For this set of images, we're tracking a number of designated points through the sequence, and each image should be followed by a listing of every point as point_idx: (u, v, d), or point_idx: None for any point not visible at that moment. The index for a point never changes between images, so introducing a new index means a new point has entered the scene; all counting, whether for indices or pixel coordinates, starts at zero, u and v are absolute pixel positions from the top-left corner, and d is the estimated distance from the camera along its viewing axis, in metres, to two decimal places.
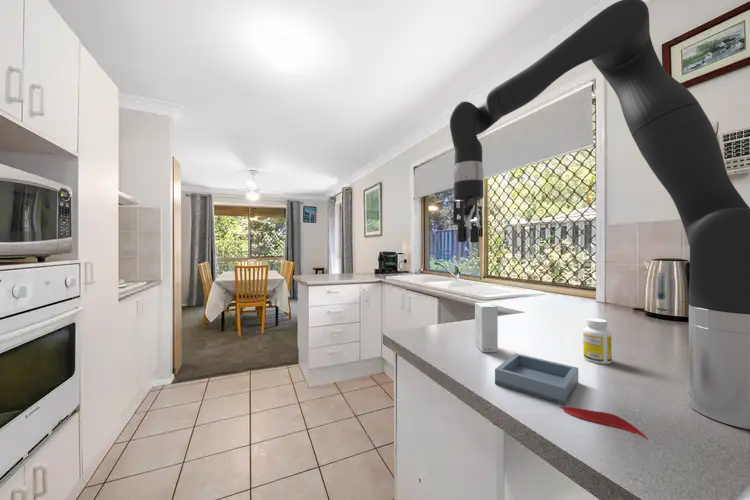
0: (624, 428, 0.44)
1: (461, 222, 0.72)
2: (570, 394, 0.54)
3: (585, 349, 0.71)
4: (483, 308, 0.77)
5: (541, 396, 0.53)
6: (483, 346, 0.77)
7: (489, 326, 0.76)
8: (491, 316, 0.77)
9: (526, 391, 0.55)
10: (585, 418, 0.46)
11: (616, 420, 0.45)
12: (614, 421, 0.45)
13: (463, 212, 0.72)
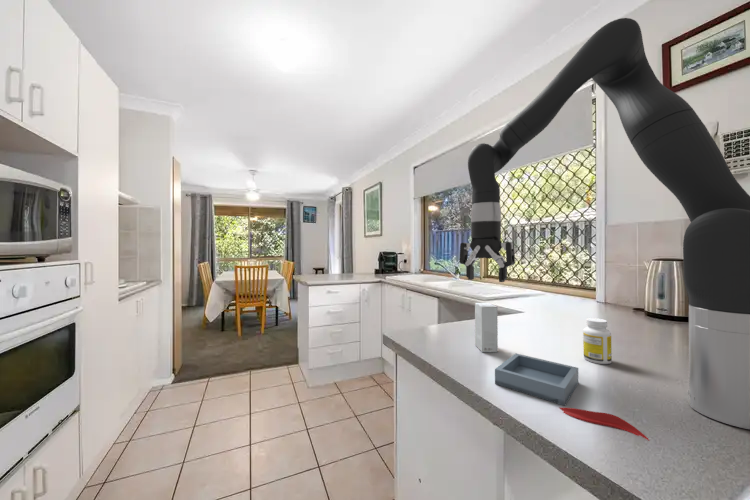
0: (624, 428, 0.44)
1: (514, 263, 0.75)
2: (570, 394, 0.54)
3: (585, 349, 0.71)
4: (483, 308, 0.77)
5: (541, 396, 0.53)
6: (482, 346, 0.77)
7: (489, 326, 0.76)
8: (491, 315, 0.77)
9: (526, 391, 0.55)
10: (585, 419, 0.46)
11: (616, 420, 0.45)
12: (614, 421, 0.45)
13: None
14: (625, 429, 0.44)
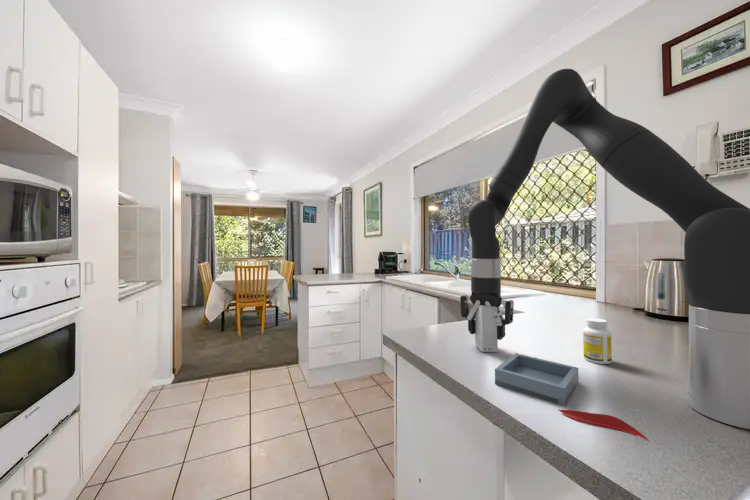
0: (624, 430, 0.44)
1: (511, 322, 0.76)
2: (570, 394, 0.54)
3: (585, 349, 0.71)
4: (483, 308, 0.77)
5: (541, 396, 0.53)
6: (482, 346, 0.77)
7: (489, 326, 0.76)
8: (491, 315, 0.77)
9: (526, 391, 0.55)
10: (585, 421, 0.46)
11: (616, 422, 0.45)
12: (614, 423, 0.45)
13: None
14: (625, 430, 0.43)
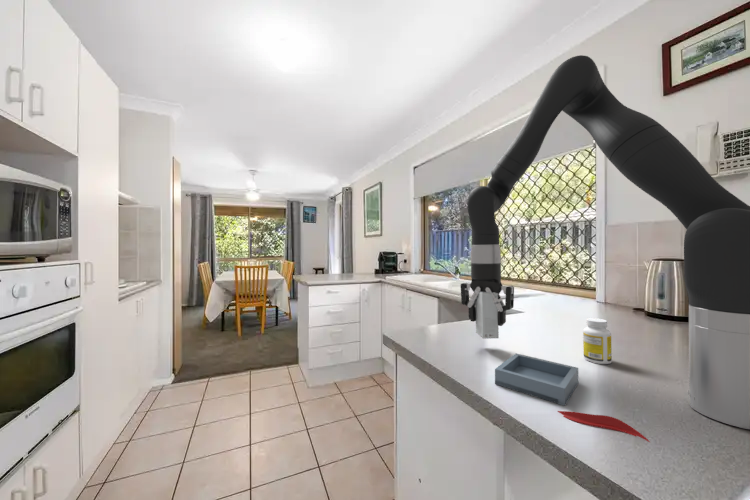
0: (624, 431, 0.43)
1: (512, 307, 0.75)
2: (570, 394, 0.54)
3: (585, 349, 0.71)
4: (483, 294, 0.76)
5: (541, 396, 0.53)
6: (483, 332, 0.76)
7: (490, 312, 0.76)
8: (491, 302, 0.76)
9: (526, 391, 0.55)
10: (585, 422, 0.45)
11: (615, 423, 0.44)
12: (614, 424, 0.44)
13: None
14: (625, 431, 0.43)
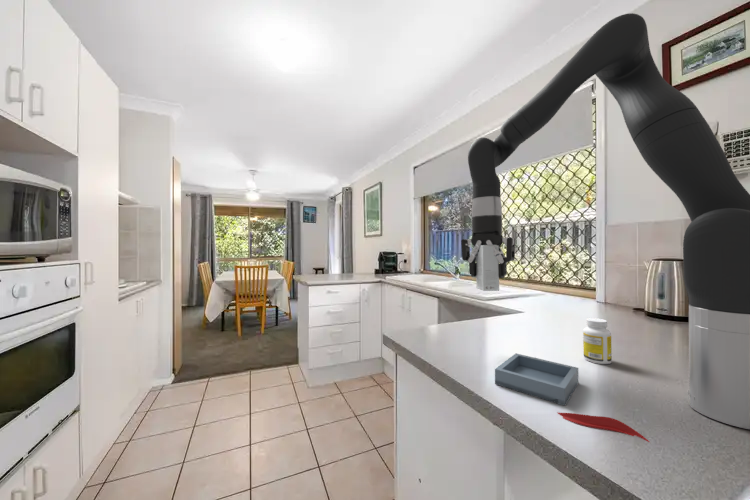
0: (624, 432, 0.43)
1: (513, 259, 0.75)
2: (570, 394, 0.54)
3: (585, 349, 0.71)
4: (484, 246, 0.76)
5: (541, 396, 0.53)
6: (484, 285, 0.76)
7: (491, 265, 0.76)
8: (492, 254, 0.76)
9: (526, 391, 0.55)
10: (586, 424, 0.45)
11: (615, 424, 0.44)
12: (614, 425, 0.44)
13: None
14: (625, 432, 0.43)
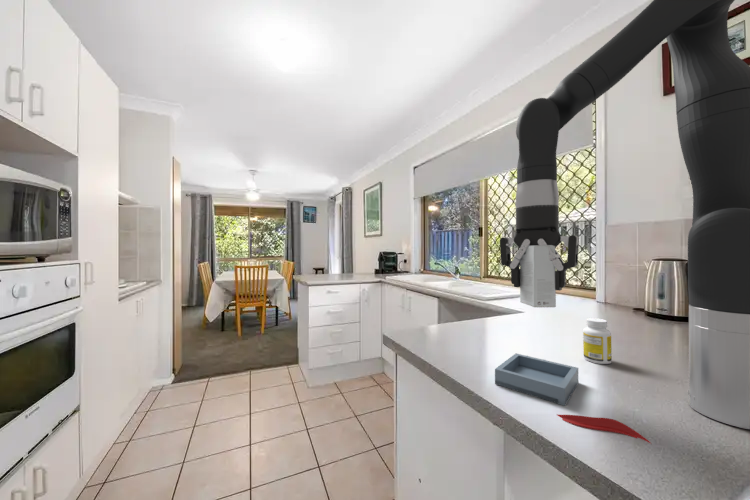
0: (625, 433, 0.43)
1: (576, 265, 0.55)
2: (570, 394, 0.54)
3: (585, 349, 0.71)
4: (536, 247, 0.56)
5: (541, 396, 0.53)
6: (535, 299, 0.56)
7: (545, 272, 0.56)
8: (546, 257, 0.56)
9: (526, 391, 0.55)
10: (586, 426, 0.44)
11: (616, 425, 0.44)
12: (614, 426, 0.44)
13: None
14: (626, 433, 0.43)
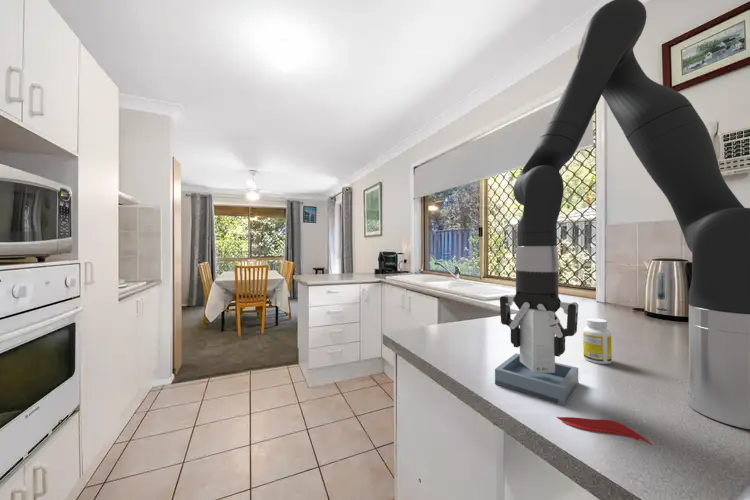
0: (625, 434, 0.43)
1: (575, 332, 0.55)
2: (570, 394, 0.54)
3: (585, 349, 0.71)
4: (535, 313, 0.56)
5: (541, 396, 0.53)
6: (534, 365, 0.56)
7: (544, 338, 0.56)
8: (546, 323, 0.56)
9: (526, 391, 0.55)
10: (588, 428, 0.44)
11: (616, 426, 0.43)
12: (614, 427, 0.43)
13: None
14: (627, 435, 0.42)
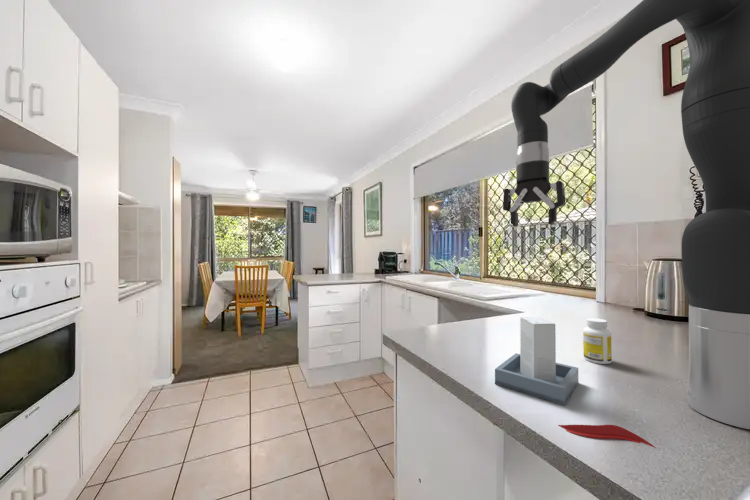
0: (628, 438, 0.42)
1: (564, 204, 0.72)
2: (570, 394, 0.54)
3: (585, 349, 0.71)
4: (536, 326, 0.56)
5: (541, 396, 0.53)
6: None
7: (545, 351, 0.56)
8: (546, 336, 0.56)
9: (526, 391, 0.55)
10: (592, 435, 0.42)
11: (618, 431, 0.42)
12: (617, 432, 0.42)
13: None
14: (629, 439, 0.42)
